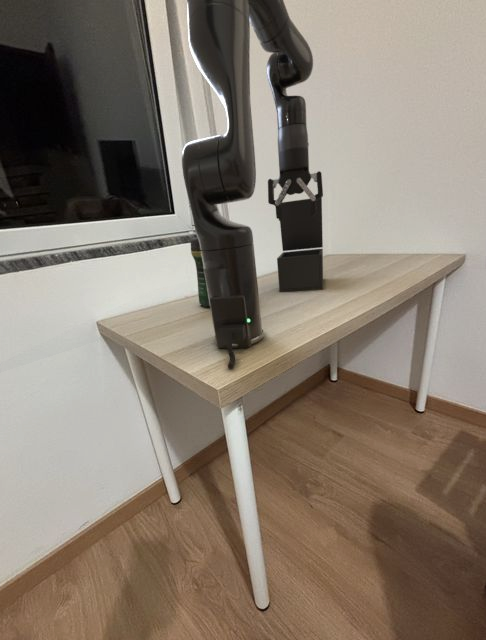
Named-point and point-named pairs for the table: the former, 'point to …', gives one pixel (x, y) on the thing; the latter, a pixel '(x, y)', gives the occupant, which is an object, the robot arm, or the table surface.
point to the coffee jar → (200, 272)
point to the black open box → (300, 270)
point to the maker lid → (301, 225)
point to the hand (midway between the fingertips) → (296, 218)
